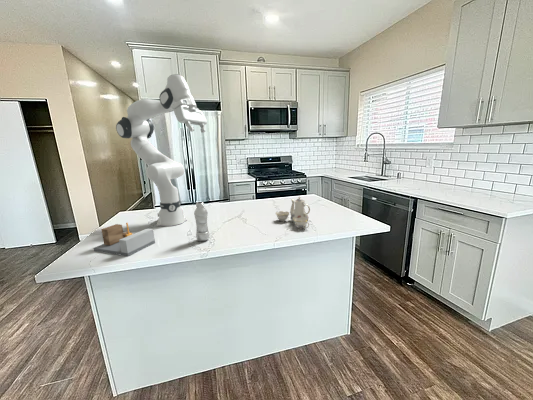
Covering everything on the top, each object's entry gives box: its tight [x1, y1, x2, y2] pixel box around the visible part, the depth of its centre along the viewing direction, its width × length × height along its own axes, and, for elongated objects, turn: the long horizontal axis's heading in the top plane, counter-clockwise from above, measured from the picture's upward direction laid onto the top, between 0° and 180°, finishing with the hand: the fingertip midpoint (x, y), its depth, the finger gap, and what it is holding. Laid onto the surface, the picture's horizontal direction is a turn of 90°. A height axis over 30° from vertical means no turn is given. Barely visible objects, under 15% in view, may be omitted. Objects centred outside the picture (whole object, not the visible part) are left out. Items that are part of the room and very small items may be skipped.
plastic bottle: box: [193, 201, 210, 242], centre depth 124 cm, size 6×7×20 cm
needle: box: [125, 222, 133, 237], centre depth 127 cm, size 2×3×8 cm, turn 160°
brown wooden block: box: [101, 223, 132, 245], centre depth 124 cm, size 4×12×8 cm, turn 160°
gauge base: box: [93, 228, 156, 257], centre depth 120 cm, size 22×16×8 cm
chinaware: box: [275, 196, 311, 230], centre depth 147 cm, size 28×17×17 cm, turn 38°
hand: (198, 131), depth 124 cm, fingers open, 8 cm apart
